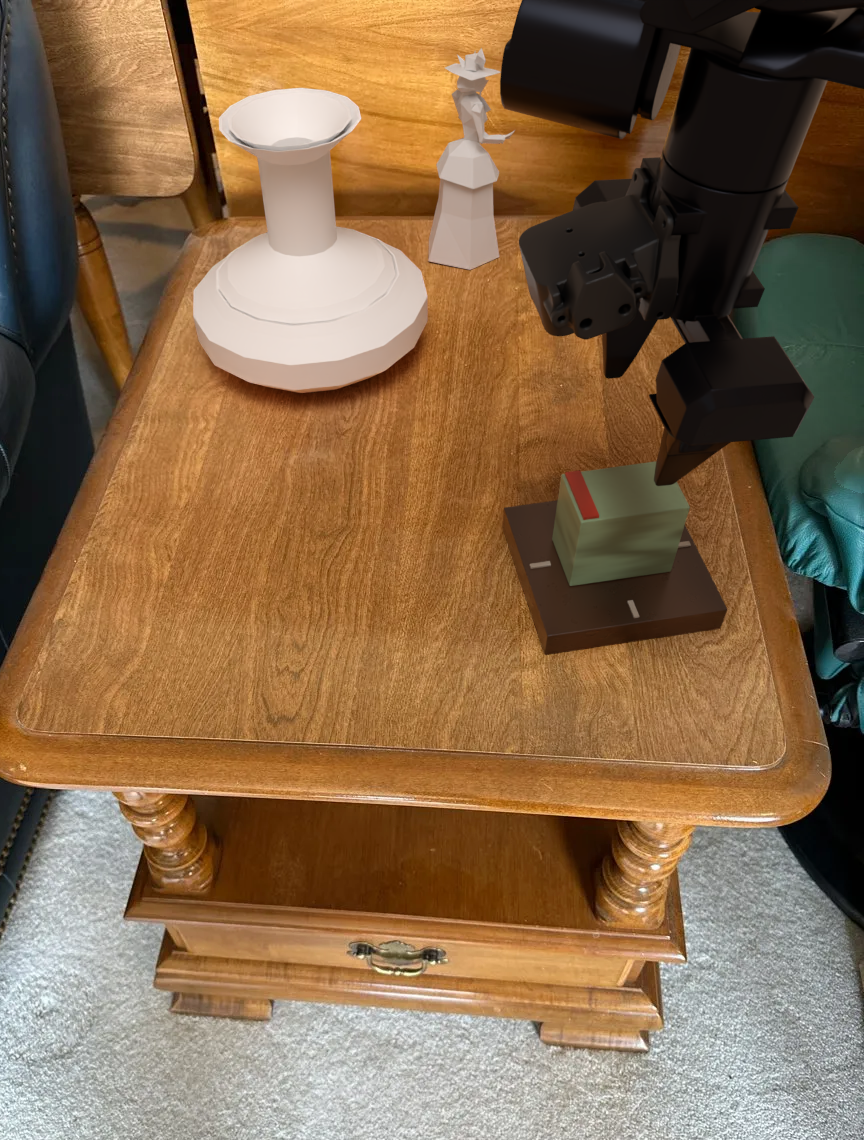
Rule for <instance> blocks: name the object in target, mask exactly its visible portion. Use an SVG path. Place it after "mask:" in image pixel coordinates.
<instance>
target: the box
mask: <svg viewBox="0 0 864 1140" xmlns="http://www.w3.org/2000/svg"><path fill="white" fill-rule="evenodd" d="M656 461H657V460H655V461H648V462H639V463H634V464H626V465H619V466H611V467H604V468H598V469H590V470H589V469H588V470H580V469H578V470H570V471H565V472H564V473H561V475H560V482H559V487H558V488H559V489H558V496H557V500H558V502H557V509H556V516H555V523H554V529H553V536H552V540H553V543H554V545H555V548H556V551H557V553H558V556H559V559H560V561H561V564H562V567H563V569H564V572H565V575H566V577H567V580H568V583H569V585H570V586H575V585H582V584H589V583H596V582H603V581H609V580H616V579H623V578H630V577H637V576H644V575H651V574H658V573H665V572H670V571H671V569H672V566H673V563H674V559H675V556H676V553H677V549H678V546H679V542H680V539H681V536H682V532H683V529H684V526H685V525H686V522H687V520H688V516H689V512H690V508H691V507H690V504H689V503H688V500H687V499H686V497H685V494H684V492H683V491H682V489H681V487H680V485H679V483H678V481H677V482H676V483H674V484H672V485H665V486H656V484H655V482H654V474H655V467H656Z"/></svg>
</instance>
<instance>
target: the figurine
mask: <svg viewBox="0 0 864 1140" xmlns="http://www.w3.org/2000/svg"><path fill="white" fill-rule="evenodd" d="M476 51H477V50H476V49H474V53H471V54H465V57H464V58H462V57H461V56H460V55H458V54H456V56H457V59H458V61H459V63H453V64H450V65H447V66H445V67H444V69H445V70H447V71H449V72H450V73H452V74H454V75H456V76H458V78H457V80H456V86H457V87H456V88H457V89H456V90H454V91H453V92H452V93H451V96H452V100H453V103H454V105H455V108H456V111H457V114H458V116H457V117H458V119H459V121H461V124H462V129H463V137H462V138H458V139H455V140H453V141H449V142H448V143H447V145H446V146H445V147H444V150H443V152H442V154H441V155H440V157H439V158H438V161H437V162H436V164H435V165H436V169H437V174H438V178H439V189H438V199H437V202H436V206H435V211H434V216H433V220H432V224H431V228H430V233H429V237H428V259H427V260H428V262H431V263H435V264H439V265H440V264H441V265H445V266H449V267H455V268H459V269H464V270H473V269H476V268H478V267H480V266H482V265H484V264H487V263H489V262H492V261H495V260H496V259H499V258H500V250H499V244H498V238H497V237H498V235H497V231H496V229H497V228H496V222H495V216H494V215H495V214H494V183H497V181H498V179H499V175H500V173H501V172H500V170H499V169H498V167H497V165H496V164H495V162H494V160H493V158H492V157H491V155H490V153H489V152H488V150H487V149H485V148H484V147H483V146H482V145H483V144H489V145H494V144H495V145H500V144H502V145H503V144H504V142H505V141H506V140H510V139H511V137H512V136H513V134H514V133H515V131H516V129H514V130H513V131H511V132H509V133H507V134H489V133H487V132H486V131H485V123H486V122H487V121H488V120H489V118H488V115H487V113H488V112H490V111H492V109H491V107H490V106H489V104H488V102H487V101H486V99H485V97H483V96H482V93H483V91H484V89H485V87H486V86H487V84H488V83H489V79H487V78H486V77H490V76H494V75H498V74H501V70H497V69H494V68H490V67H489V68H488V67H485V63H486V61H487V60H486V56H485V54H484V51H483V48H482V47H480V49H479V50H478V52H476Z"/></svg>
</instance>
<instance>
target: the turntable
mask: <svg viewBox="0 0 864 1140" xmlns="http://www.w3.org/2000/svg"><path fill="white" fill-rule="evenodd" d="M557 502H558V499H555V500H549V501H541V502H534V503H527V504H520V505H512V506H506V507H505V506H504V507H503V513H502V514H503V515H502V525H501V526H502V527H501V528H502V530H503V533H504V536H505V540H506V543H507V545H508V548H509V551H510V554H511V557H512V560H513V564H514V567H515V569H516V573H517V576H518V578H519V582H520V584H521V586H522V587H521V588H522V591H523V594H524V597H525V600H526V603H527V606H528V608H529V612H530V615H531V618H532V620H533V621H532V622H533V624H534V626H535V630H536V633H537V636H538V639H539V642H540V645H541V648H542V651H543V653H544V655H546V656H547V655H553V654H557V653H566V652H572V651H578V650H585V649H591V648H592V649H593V648H599V647H605V646H613V645H619V644H625V643H626V644H627V643H631V642H639V641H644V640H645V641H646V640H652V639H658V638H664V637H665V638H666V637H672V636H678V635H686V634H691V633H698V632H699V633H700V632H704V631H711V630H712V631H713V630H718V629H721V628H722V626H723V622H724V620H725V618H726V616H727V615H726V614H727V612H728V607H727V605H726V603H725V602H724V599H723V597H722V595H721V593H720V591H719V589H718V588H717V585H716V583H715V581H714V580H713V577H712V575H711V574H710V571H709V568H708V567H707V565H706V563H705V561H704V559H703V557H702V555H701V554H700V551H699V549H698V547H697V545H696V543H695V542H694V539H693V537H692V535H691V534H690V533H691V532H689V529H688V527H687V525H686V524H685V526H684V529H683V532H682V536H681V539H680V542H679V546H678V549H677V553H676V556H675V559H674V563H673V566H672V569H671V571H670V572H665V573H658V574H651V575H644V576H637V577H630V578H623V579H616V580H609V581H603V582H596V583H589V584H582V585H575V586H570V585H569V583H568V580H567V577H566V575H565V572H564V569H563V567H562V564H561V561H560V559H559V556H558V553H557V551H556V548H555V545H554V543H553V540H552V536H553V529H554V523H555V516H556V509H557Z"/></svg>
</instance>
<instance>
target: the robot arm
mask: <svg viewBox="0 0 864 1140" xmlns="http://www.w3.org/2000/svg"><path fill="white" fill-rule="evenodd" d="M753 9H755V10H758V11H759V12H758V11H750V10H753ZM681 47H686V48H690V51H689V53H688V56H687V57H688V58H687V62H686V64H685V67H684V72H683V74H682V75H683V76H682V78H681V83H680V86H679V88H678V89H679V90H678V93H677V96H676V100H675V103H674V108H673V112H672V115H671V118H670V122H669V125H668V130H667V132H666V136H665V141H664V144H663V147H662V149H661V153H660V156H658V157H642V158H641V163H640V166H639V167H636V168H634V170H633V172H632V176H631V178H617V179H616V178H615V179H599V180H597V179H595V180H593V181H592V183H590V184H589V185H588V186H586V187H585V188H584V189H583V190H582V191H581V192H580V193H578V194H577V196H575V198H574V202H573V206H572V210H570V211H568V212H565V213H563V214H560V215H557V216H555V217H553V218H550V219H547V220H545V221H542V222H539V223H537V224H534V225H532V226H530V227H529V228H527V229H525V230H524V231H523V232H522V233H521V234H520V236H519V238H518V246H519V251H520V255H521V260H522V264H523V270H524V274H525V279H526V283H527V288H528V293H529V296H530V299H531V300H532V302H533V304H534V307H535V309H536V311H537V314H538V316H539V318H540V321H541V324H542V327H543V329H544V330H545V332H546V333H547V334H548V335H551V336H553V337H566V336H571V335H573V334H574V335H575V337H577V338H579V339H582V340H583V341H584V340H585V341H587V340H590V339H593V338H596V337H599V336H601V342H602V369H603V371H602V372H603V375H604V377H605V379H607V380H608V379H609V380H610V379H611V380H612V379H620V378H622V377H623V376H624V375H625V373H626V372H627V370H628V369H629V368H630V367H631V365H632V364H633V362H634V360H636V358H637V356H638V355H639V353H640V351H641V349H642V347H644V344H645V342H646V341H647V339H648V338H649V336H650V334H651V333H652V331H653V329H654V327H655V325H656V324H657V322H658V321H659V320H668V319H671V321H672V323H673V324H674V326H675V329H676V330H677V332H678V333H679V335H680V337H681V339H682V340H683V344H682V345H680V347H678V348H676V349H675V350H674V351H673V352H671V353H670V354H669V355H667V356H666V357H665V358H663V359H662V360H661V362H660V365H659V368H658V370H657V374H656V377H655V393H649V394H648V398H649V400H650V402H651V404H652V406H653V408H654V410H655V412H656V414H657V416H658V418H659V421H660V422H661V424H662V427H663V431H662V435H661V439H660V444H659V447H658V452H657V456H656V460H655V461H656V467H655V474H654V482H655V484H656V486H665V485H672V484H674V483H676V482H677V483H678V482H679V481H680V480H681V479H683V478H684V477H685V476H687V475H688V474H690V473H691V472H692V471H693V470H695V469H696V468H698V467H699V466H701V465H702V464H703V463H704V462H706V461H707V460H709V459H710V458H711V457H712V456H714V455H716V453H718V452H719V451H721V450H722V449H723V448H725V447H726V446H728V445H729V444H731V443H738V442H739V443H740V442H751V441H760V440H763V441H764V440H773V439H783V438H793V437H794V436H795V434H796V433H797V432H798V430H799V429H800V427H801V425H802V423H803V421H804V419H805V417H806V415H807V413H808V411H809V409H810V407H811V405H812V404H813V401H814V400H815V395H814V393H813V392H812V390H811V389H810V387H809V386H808V384H807V383H806V381H805V379H804V378H803V377H802V375H801V374H800V372H799V371H798V369H797V367H796V366H795V365H794V363H793V361H792V360H791V359H790V357H789V355H788V354H787V352H786V351H785V349H784V348H783V347H782V345H781V344H780V342H779V341H778V339H777V338H776V337H775V335H773V336H772V335H771V336H759V337H745V338H743V336H742V335H741V333H740V332H739V330H738V328H737V327H736V325H735V324H734V322H733V320H732V319H731V317H730V316H729V315H731V312H732V309H745V308H746V309H747V308H749V309H750V308H758V306H759V305H760V302H761V300H762V297H763V295H764V292H765V290H766V288H765V287H764V285H763V284H762V282H761V280H760V279H759V278H758V276H757V275H756V273H755V272H754V268H755V266H756V263H757V260H758V258H759V256H760V253H761V250H762V248H763V245H764V242H765V240H766V237H767V236H768V233H769V230H770V231H771V230H789V229H791V226H792V224H793V222H794V219H795V217H796V215H797V213H798V210H799V205H797V204H796V202H795V201H794V200H793V198H792V197H791V195H790V194H789V193H788V192H787V190H786V188H787V185H788V183H789V179H790V177H791V174H792V172H793V170H794V167H795V164H796V162H797V159H798V157H799V154H800V151H801V149H802V147H803V144H804V141H805V139H806V137H807V134H808V131H809V129H810V126H811V124H812V121H813V119H814V116H815V114H816V111H817V108H818V106H819V104H820V101H821V98H822V96H823V93H824V92H825V88H826V86H827V83H828V82H831V83H835V84H840V85H844V86H849V87H853V88H856V89H861V90H864V0H521V2H520V5H519V7H518V10H517V14H516V18H515V21H514V24H513V28H512V32H511V37H510V39H509V40H508V41H507V42H506V43H505V46H504V49H503V53H502V59H501V68H500V72H501V73H500V79H499V96H500V102H501V105H502V107H503V109H504V110H507V111H509V112H510V111H511V112H515V113H519V114H523V115H527V116H531V117H534V118H538V119H542V120H546V121H550V122H553V123H557V124H560V125H565V126H569V127H573V128H576V129H581V130H584V131H588V132H592V133H596V134H600V135H603V136H607V137H612V138H616V139H619V140H623V139H624V138H625V137H626V135H627V134H628V135H630V134H631V133H632V132H633V129H634V127H635V124H636V120H637V118H638V115H640V118H641V119H645V120H649V121H654V120H655V119H656V118H657V116H658V114H659V112H660V110H661V108H662V106H663V103H664V100H665V99H666V95H667V92H668V90H669V87H670V85H671V81H672V79H673V75H674V72H675V68H676V66H677V62H678V58H679V55H680V51H681Z"/></svg>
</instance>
